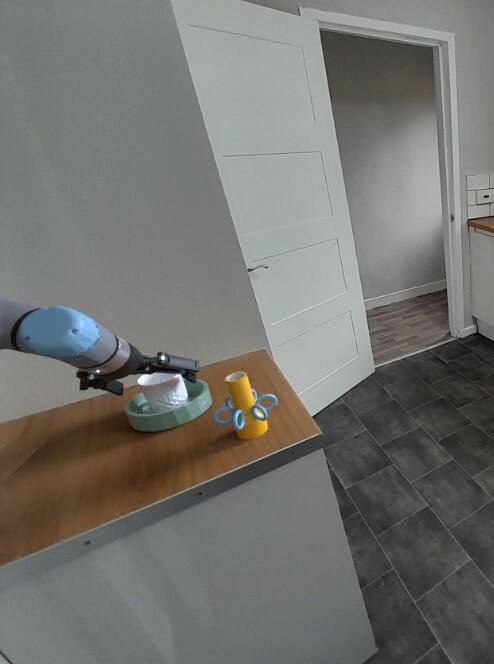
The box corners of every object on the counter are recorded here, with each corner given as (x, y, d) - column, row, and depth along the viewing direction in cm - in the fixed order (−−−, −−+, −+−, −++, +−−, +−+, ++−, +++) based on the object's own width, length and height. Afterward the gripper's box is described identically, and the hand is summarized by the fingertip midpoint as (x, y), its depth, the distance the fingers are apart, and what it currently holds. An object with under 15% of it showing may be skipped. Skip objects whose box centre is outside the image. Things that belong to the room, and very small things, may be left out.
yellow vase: (212, 439, 91) (190, 383, 84) (253, 412, 100) (236, 359, 93) (253, 454, 87) (233, 396, 81) (292, 424, 96) (277, 370, 90)
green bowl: (117, 439, 90) (109, 421, 88) (151, 400, 104) (144, 383, 102) (199, 427, 95) (193, 409, 93) (221, 390, 108) (216, 374, 106)
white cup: (147, 412, 98) (131, 377, 94) (185, 396, 104) (172, 363, 100) (160, 425, 94) (143, 389, 90) (199, 408, 100) (185, 373, 95)
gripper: (12, 389, 70) (87, 411, 88) (188, 362, 79) (223, 388, 98) (16, 348, 72) (89, 378, 91) (187, 327, 82) (221, 358, 100)
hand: (158, 383), depth 94 cm, fingers open, 13 cm apart
